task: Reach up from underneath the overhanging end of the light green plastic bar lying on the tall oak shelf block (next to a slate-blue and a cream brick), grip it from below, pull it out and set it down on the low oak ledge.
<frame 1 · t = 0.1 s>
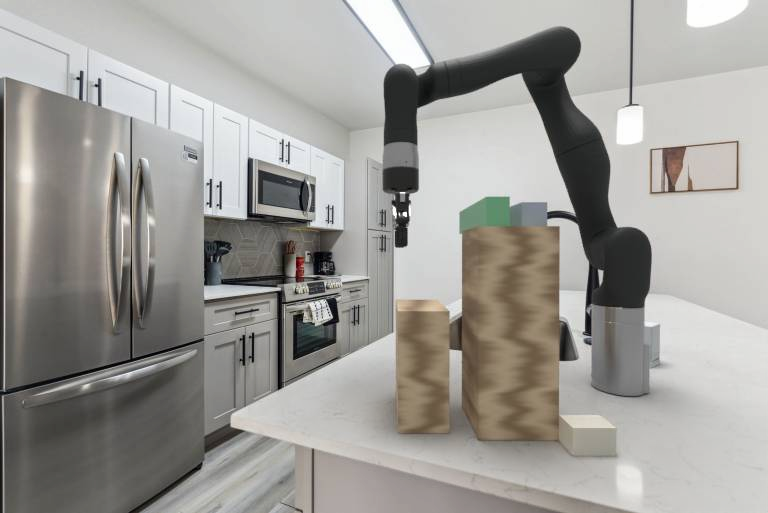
hand: (400, 247, 75), 29 cm above the countertop, tool pointing down, fingers open, 8 cm apart
slate-blue brick: (527, 229, 60), point 32 cm above the countertop, touching oak shelf block
skincare box: (632, 362, 94), on the countertop
cream brick: (586, 449, 52), on the countertop
oak ledge: (419, 413, 63), on the countertop
oak shelf block: (505, 421, 60), on the countertop
green bar: (480, 230, 64), point 32 cm above the countertop, touching oak shelf block
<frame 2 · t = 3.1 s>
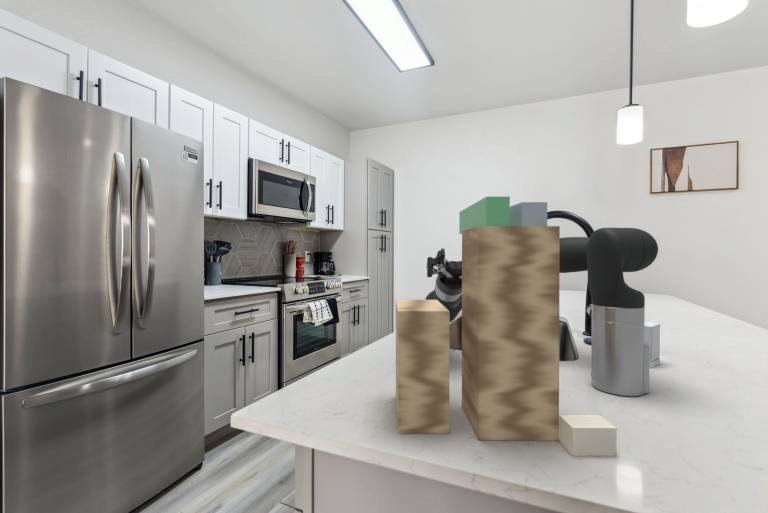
hand: (462, 251, 79), 28 cm above the countertop, tool pointing upward, fingers open, 8 cm apart
nothing on the countertop moved.
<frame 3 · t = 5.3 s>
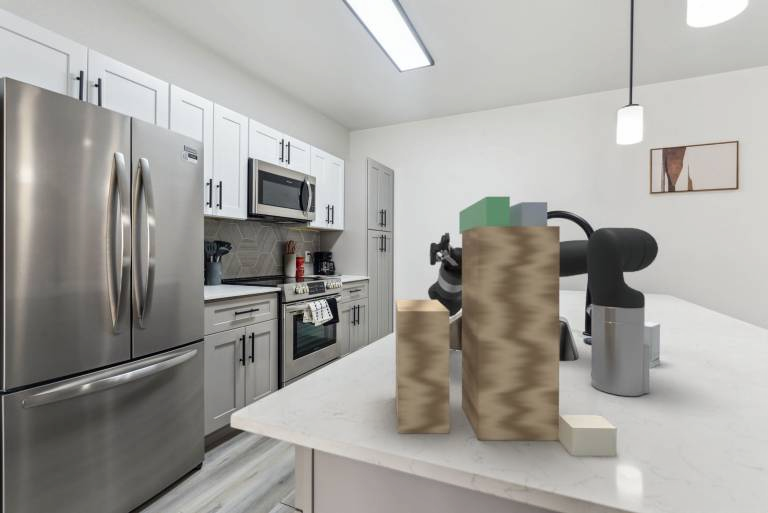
hand: (468, 236, 74), 31 cm above the countertop, tool pointing upward, fingers open, 8 cm apart
nothing on the countertop moved.
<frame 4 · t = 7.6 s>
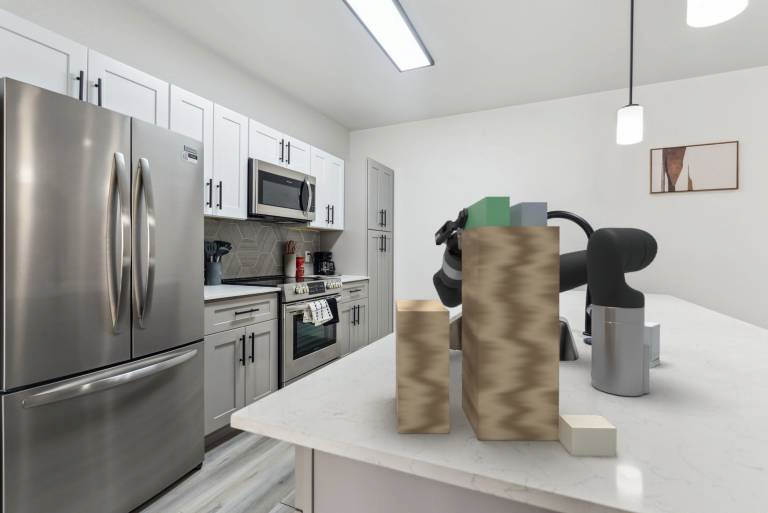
hand: (476, 211, 67), 36 cm above the countertop, tool pointing upward, fingers closed on green bar, 3 cm apart
green bar: (480, 230, 64), point 32 cm above the countertop, touching gripper, oak shelf block
everything else where it was.
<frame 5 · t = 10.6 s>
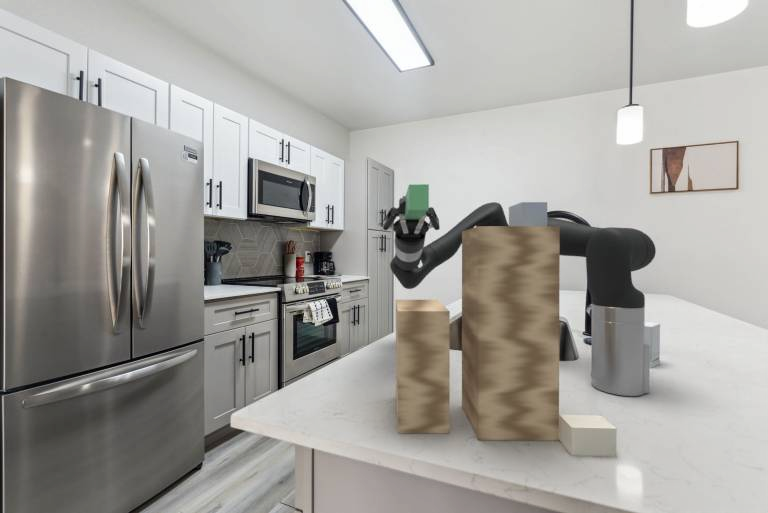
hand: (413, 199, 77), 40 cm above the countertop, tool pointing upward, fingers closed on green bar, 3 cm apart
green bar: (414, 215, 74), point 36 cm above the countertop, touching gripper
everything else where it was.
when the fingers open (25 cm above the countertop, at t = 13.6 s): green bar drops 3 cm, resting on oak ledge.
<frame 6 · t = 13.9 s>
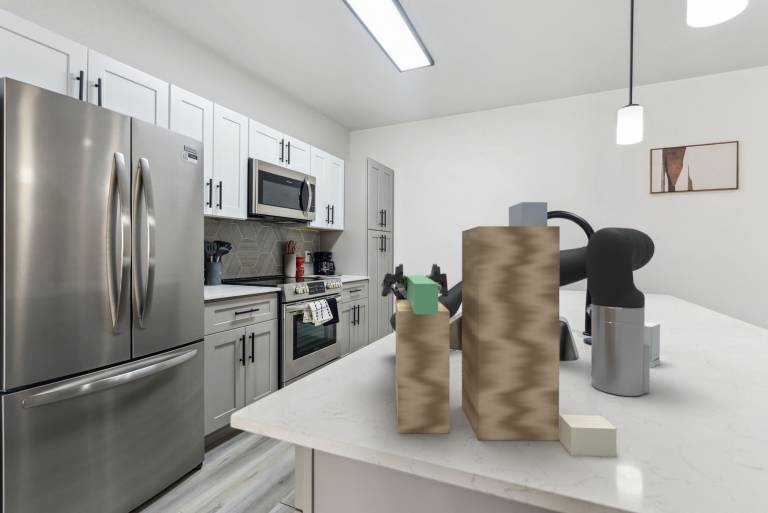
hand: (418, 268, 66), 25 cm above the countertop, tool pointing upward, fingers open, 5 cm apart
green bar: (419, 304, 63), point 19 cm above the countertop, touching oak ledge
everything else where it was.
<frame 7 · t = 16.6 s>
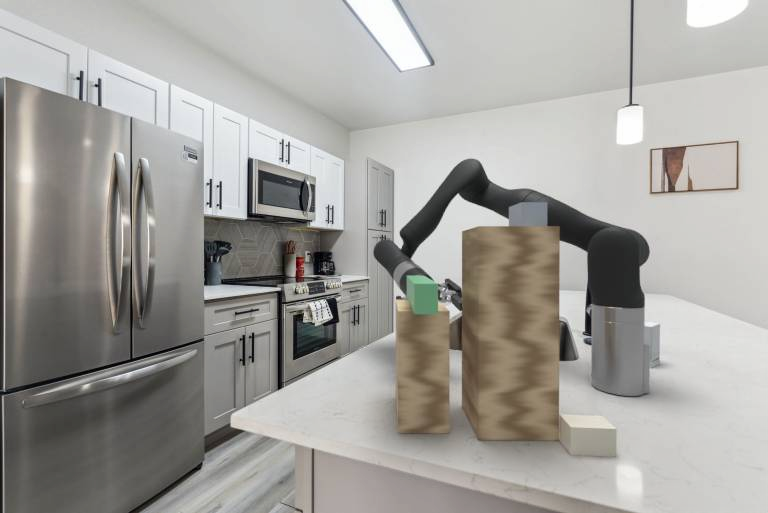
hand: (443, 314, 75), 15 cm above the countertop, tool tilted 70°, fingers open, 8 cm apart
nothing on the countertop moved.
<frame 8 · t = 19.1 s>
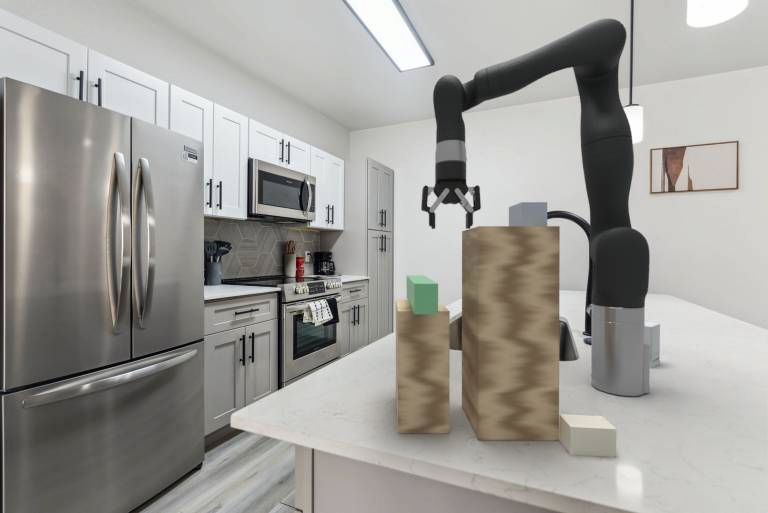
hand: (450, 228, 89), 34 cm above the countertop, tool pointing down, fingers open, 8 cm apart
nothing on the countertop moved.
at the end: green bar inside the target area on the oak ledge (0.2 cm from its centre), point 19.0 cm above the oak ledge's base; the gripper is holding nothing; green bar moved 17.0 cm from its start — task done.
